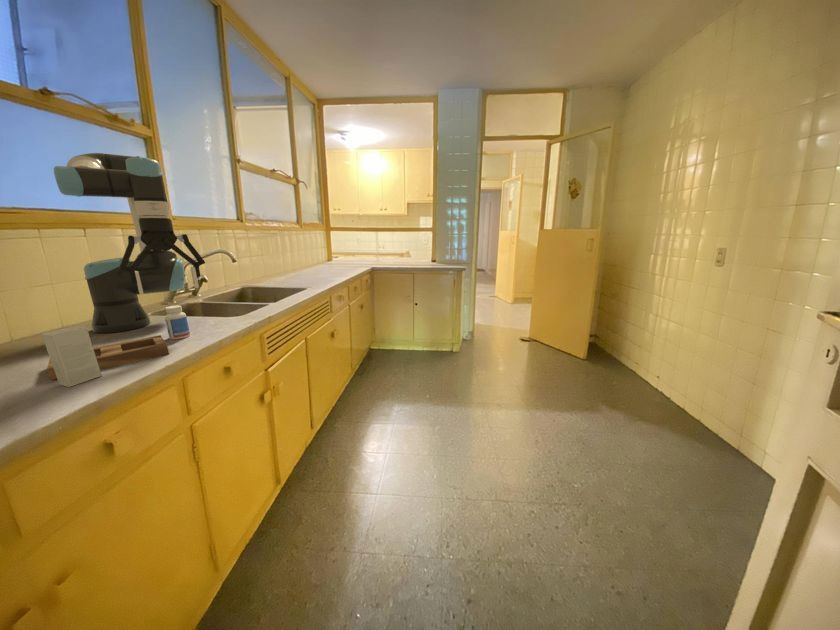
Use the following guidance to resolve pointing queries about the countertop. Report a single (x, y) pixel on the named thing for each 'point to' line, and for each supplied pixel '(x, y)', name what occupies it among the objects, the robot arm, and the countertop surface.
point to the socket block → (125, 352)
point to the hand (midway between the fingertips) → (170, 290)
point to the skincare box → (72, 355)
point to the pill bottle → (176, 322)
